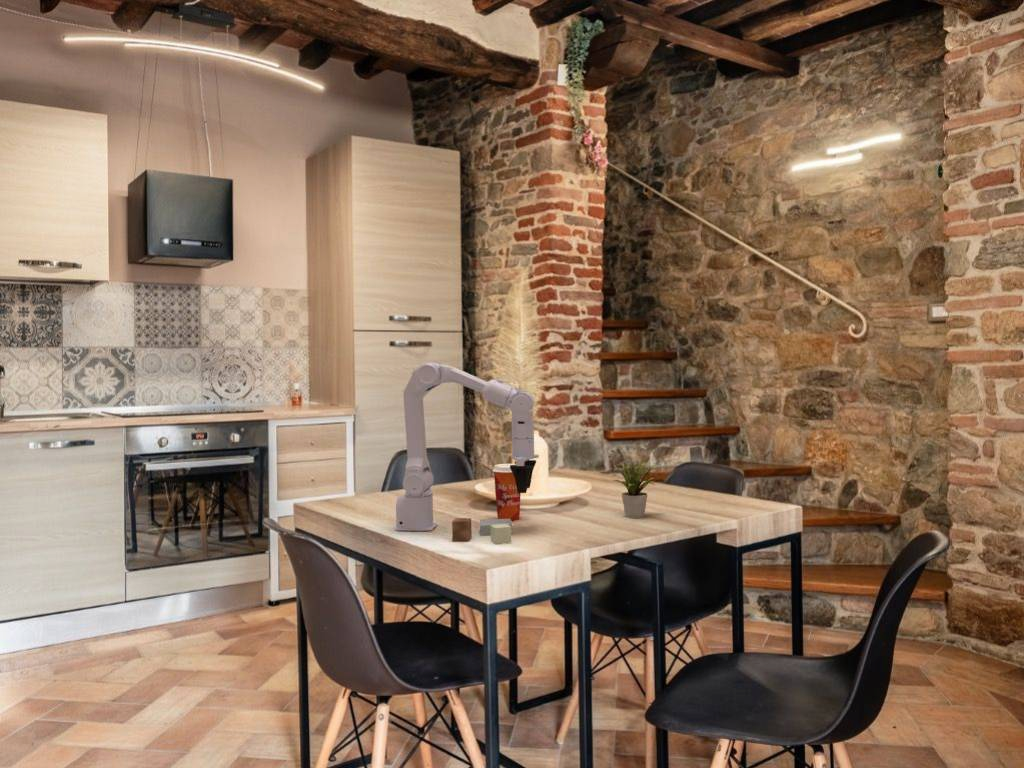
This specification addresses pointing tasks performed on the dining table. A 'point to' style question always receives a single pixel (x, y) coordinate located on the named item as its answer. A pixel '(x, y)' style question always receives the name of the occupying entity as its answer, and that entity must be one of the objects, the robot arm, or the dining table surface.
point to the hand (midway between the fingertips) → (523, 490)
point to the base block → (486, 524)
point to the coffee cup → (506, 493)
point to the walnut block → (461, 530)
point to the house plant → (634, 489)
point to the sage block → (500, 533)
